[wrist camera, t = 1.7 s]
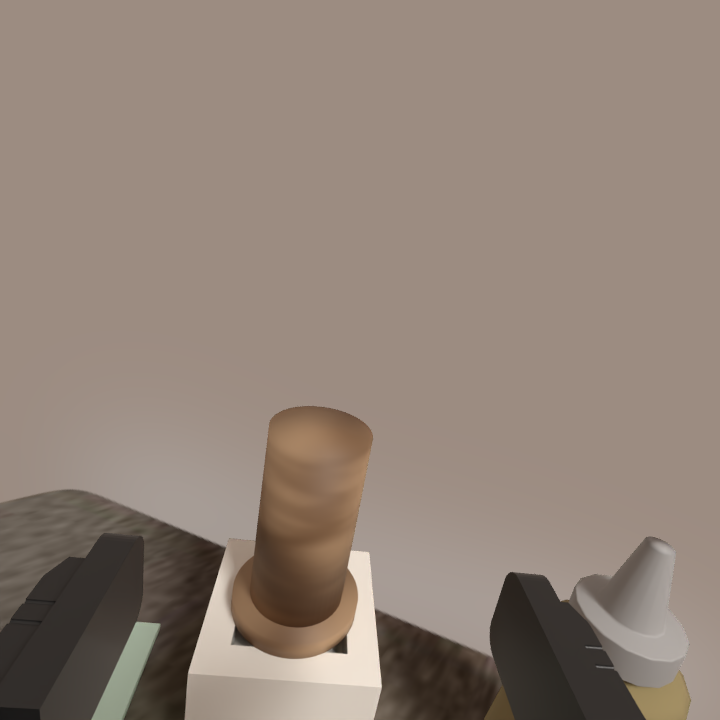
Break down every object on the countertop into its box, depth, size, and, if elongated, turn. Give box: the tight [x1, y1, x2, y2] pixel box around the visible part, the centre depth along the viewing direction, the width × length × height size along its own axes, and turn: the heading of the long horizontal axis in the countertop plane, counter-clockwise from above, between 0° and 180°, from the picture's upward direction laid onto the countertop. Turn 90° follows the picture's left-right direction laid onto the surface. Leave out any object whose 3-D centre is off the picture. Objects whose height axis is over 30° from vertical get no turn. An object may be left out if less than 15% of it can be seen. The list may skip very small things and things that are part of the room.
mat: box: [91, 622, 160, 720], centre depth 28 cm, size 9×9×1 cm
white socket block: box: [185, 538, 382, 720], centre depth 28 cm, size 9×9×8 cm
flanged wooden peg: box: [231, 406, 373, 659], centre depth 25 cm, size 7×7×12 cm
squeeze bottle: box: [484, 537, 691, 720], centre depth 23 cm, size 8×8×18 cm
